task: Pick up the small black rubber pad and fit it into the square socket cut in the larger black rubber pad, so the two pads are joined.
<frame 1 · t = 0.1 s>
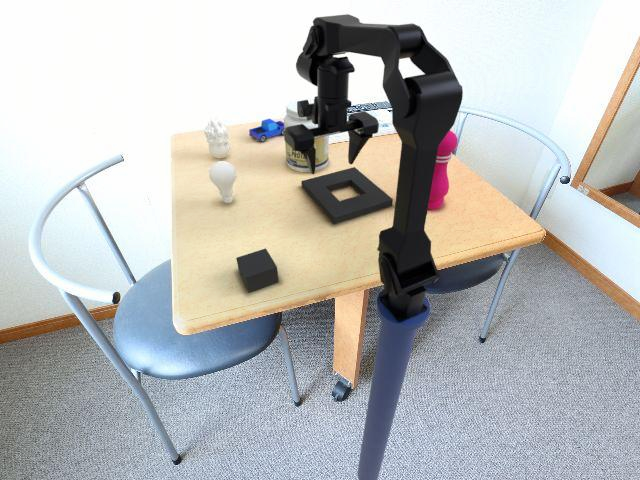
hand: (331, 168, 78), 12 cm above the table, tool pointing down, fingers open, 9 cm apart
socket pad: (345, 196, 93), on the table
lightbulb: (228, 203, 91), on the table
pepper mill: (429, 203, 90), on the table
toy car: (269, 136, 121), on the table
small pad: (258, 277, 71), on the table
supplement tub: (307, 164, 106), on the table
figurine: (221, 157, 110), on the table
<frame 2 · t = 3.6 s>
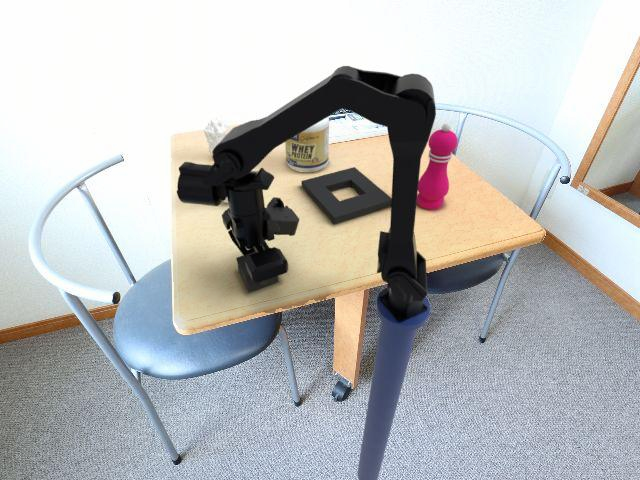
hand: (258, 273, 70), 1 cm above the table, tool pointing down, fingers closed on small pad, 6 cm apart
small pad: (258, 277, 71), on the table, touching gripper
everything else where it was.
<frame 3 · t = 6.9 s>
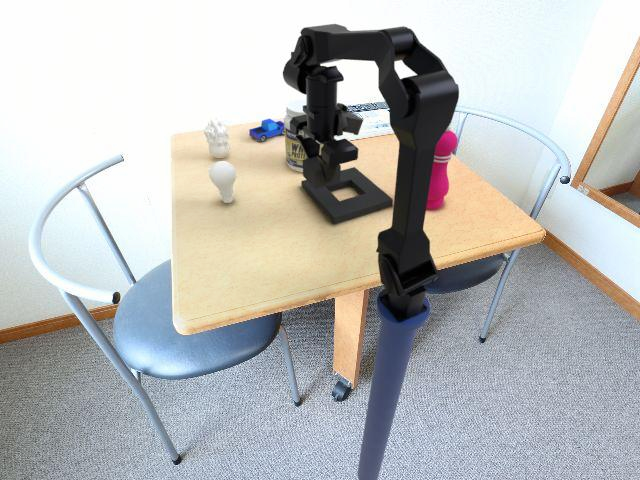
hand: (321, 175, 79), 11 cm above the table, tool pointing down, fingers closed on small pad, 6 cm apart
small pad: (321, 179, 79), point 10 cm above the table, touching gripper
everything else where it was.
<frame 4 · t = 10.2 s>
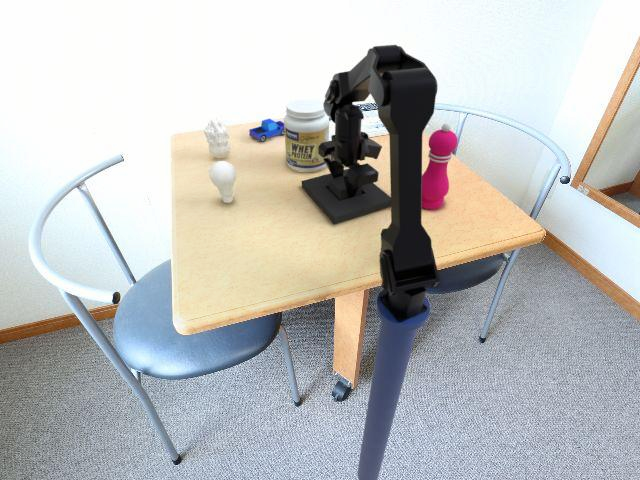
hand: (345, 192, 92), 1 cm above the table, tool pointing down, fingers closed on small pad, 6 cm apart
small pad: (344, 195, 92), resting in socket pad, touching gripper
everything else where it was.
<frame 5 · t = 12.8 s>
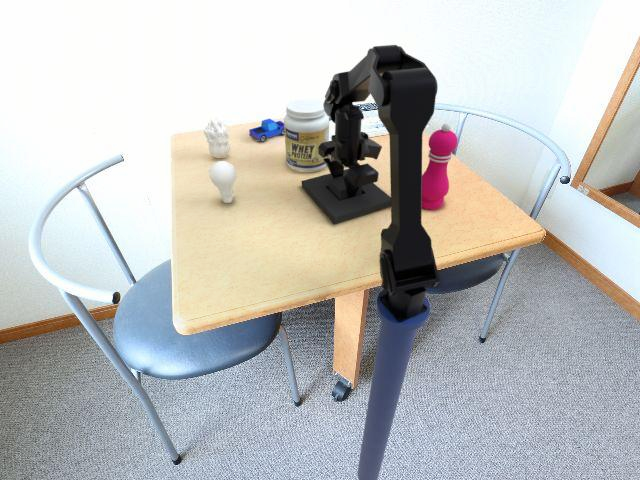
hand: (345, 192, 92), 1 cm above the table, tool pointing down, fingers closed on small pad, 6 cm apart
small pad: (344, 195, 92), resting in socket pad, touching gripper
everything else where it was.
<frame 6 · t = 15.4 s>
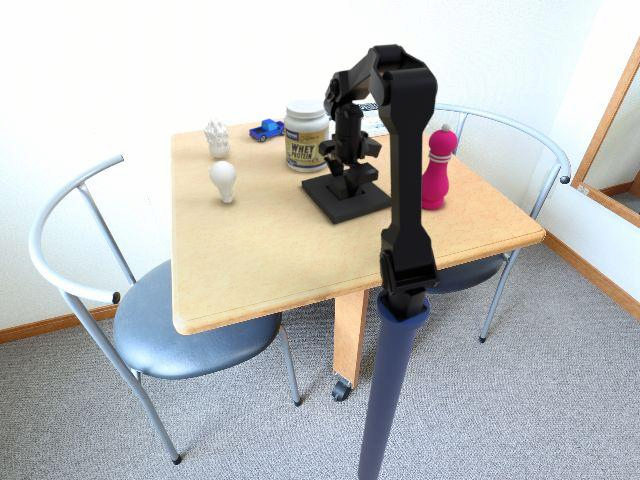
hand: (345, 191, 92), 2 cm above the table, tool pointing down, fingers closed on small pad, 6 cm apart
small pad: (344, 194, 92), point 1 cm above the table, touching gripper
everything else where it was.
when the fingers open (3 cm above the table, at t = 20.1 s): small pad drops 2 cm, resting in socket pad.
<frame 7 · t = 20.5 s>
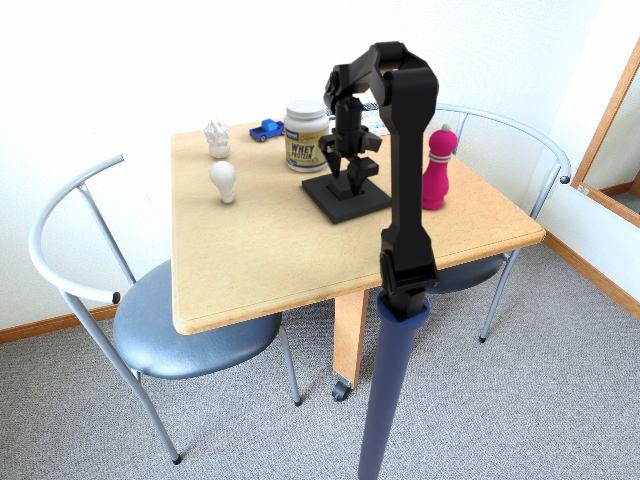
hand: (345, 186, 91), 3 cm above the table, tool pointing down, fingers open, 9 cm apart
small pad: (344, 196, 93), resting in socket pad
everything else where it was.
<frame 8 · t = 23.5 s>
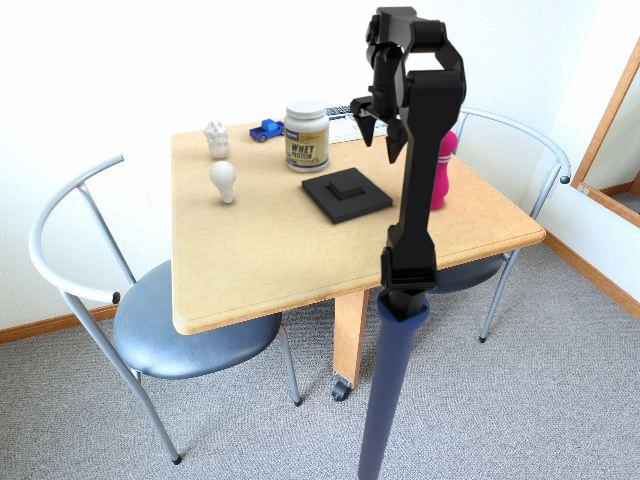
hand: (379, 154, 82), 13 cm above the table, tool pointing down, fingers open, 9 cm apart
nothing on the table moved.
at the end: small pad 0.1 cm off-centre on the socket pad, point 0.0 cm above the socket pad's base; small pad tilted 0°; the gripper is holding nothing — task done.
